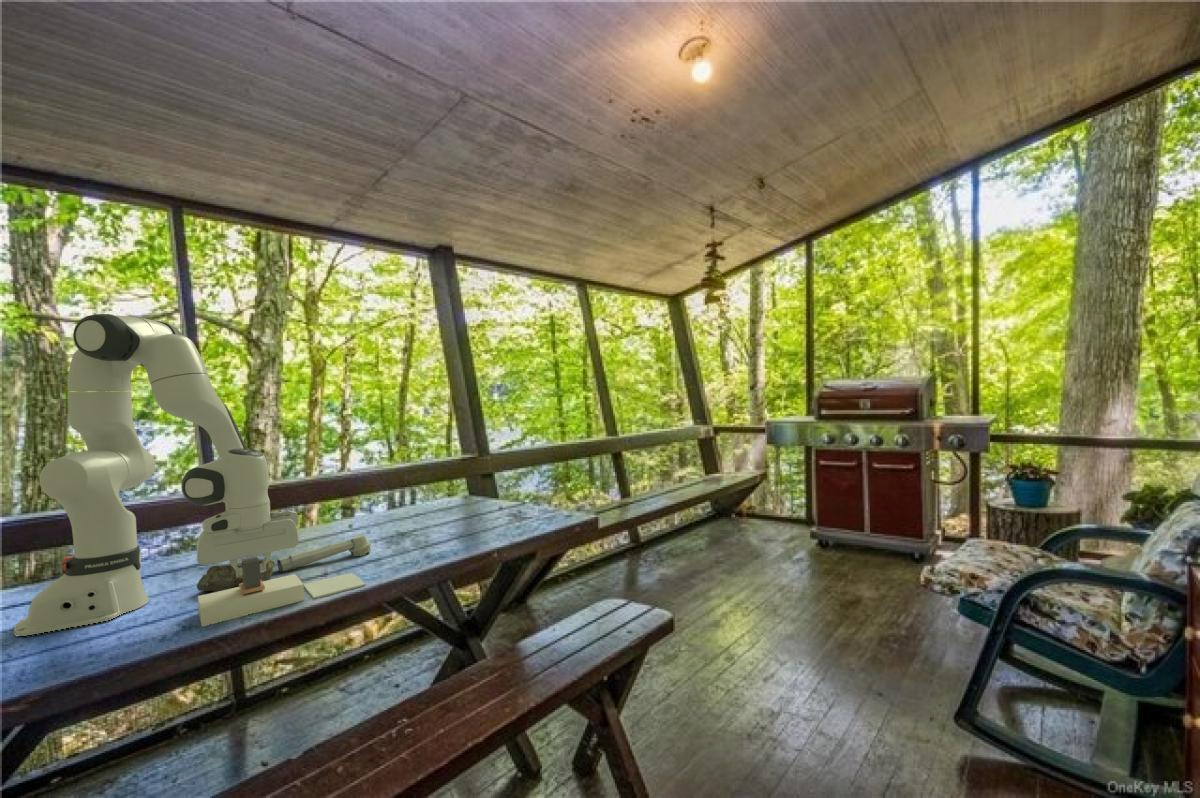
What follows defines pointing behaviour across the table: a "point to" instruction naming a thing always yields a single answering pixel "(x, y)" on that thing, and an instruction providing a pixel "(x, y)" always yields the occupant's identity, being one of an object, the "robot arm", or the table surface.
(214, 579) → the rock
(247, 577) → the plug
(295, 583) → the block
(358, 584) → the mat
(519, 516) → the table surface
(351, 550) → the beige flashlight
